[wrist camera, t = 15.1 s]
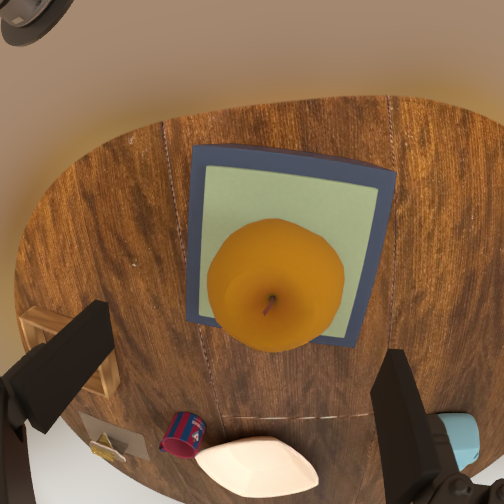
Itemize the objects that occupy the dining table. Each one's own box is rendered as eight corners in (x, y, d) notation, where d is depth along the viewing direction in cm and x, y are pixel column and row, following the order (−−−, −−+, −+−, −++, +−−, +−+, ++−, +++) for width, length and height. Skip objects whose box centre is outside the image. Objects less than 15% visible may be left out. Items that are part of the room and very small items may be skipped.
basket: (34, 305, 52) (19, 316, 48) (111, 330, 50) (96, 346, 45) (47, 354, 57) (34, 367, 52) (121, 382, 54) (109, 399, 50)
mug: (213, 430, 55) (204, 456, 48) (176, 437, 58) (165, 461, 51) (192, 408, 53) (180, 435, 47) (155, 417, 56) (143, 441, 50)
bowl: (243, 483, 61) (239, 500, 56) (188, 432, 56) (180, 451, 51) (330, 467, 54) (330, 486, 49) (285, 410, 50) (282, 433, 45)
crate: (231, 143, 37) (192, 144, 24) (364, 161, 35) (397, 172, 22) (221, 266, 43) (185, 321, 30) (341, 284, 41) (354, 348, 28)
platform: (78, 410, 62) (65, 428, 56) (142, 435, 60) (131, 455, 53) (90, 438, 66) (79, 455, 60) (150, 461, 64) (141, 480, 58)
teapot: (411, 405, 46) (424, 455, 35) (482, 407, 44) (501, 448, 34) (382, 446, 50) (389, 492, 40) (452, 446, 49) (464, 485, 38)
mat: (209, 164, 24) (206, 165, 24) (376, 187, 23) (378, 189, 22) (201, 310, 29) (198, 315, 28) (343, 333, 27) (344, 338, 27)
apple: (342, 208, 23) (362, 246, 15) (329, 309, 26) (336, 380, 18) (228, 200, 24) (189, 233, 16) (228, 300, 27) (197, 365, 19)
